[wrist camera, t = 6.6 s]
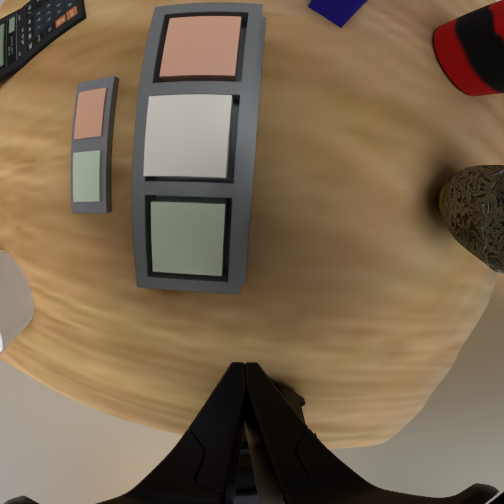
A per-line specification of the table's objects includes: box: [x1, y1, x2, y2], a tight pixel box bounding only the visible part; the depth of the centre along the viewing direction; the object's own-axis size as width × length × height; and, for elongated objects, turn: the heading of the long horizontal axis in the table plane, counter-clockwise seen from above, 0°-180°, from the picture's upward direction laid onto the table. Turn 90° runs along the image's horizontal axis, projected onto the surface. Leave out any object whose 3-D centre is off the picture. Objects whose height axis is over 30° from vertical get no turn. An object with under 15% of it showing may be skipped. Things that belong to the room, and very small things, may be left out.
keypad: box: [132, 3, 266, 294], centre depth 15 cm, size 20×8×3 cm, turn 176°
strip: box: [71, 76, 119, 213], centre depth 16 cm, size 10×3×1 cm, turn 176°
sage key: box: [151, 197, 227, 276], centre depth 17 cm, size 4×4×2 cm
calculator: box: [0, 0, 86, 81], centre depth 10 cm, size 9×12×3 cm
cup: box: [437, 165, 504, 273], centre depth 15 cm, size 8×7×8 cm
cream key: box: [143, 94, 233, 178], centre depth 14 cm, size 4×4×2 cm
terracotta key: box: [160, 16, 241, 82], centre depth 13 cm, size 4×4×2 cm
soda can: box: [434, 0, 504, 96], centre depth 9 cm, size 8×8×12 cm
